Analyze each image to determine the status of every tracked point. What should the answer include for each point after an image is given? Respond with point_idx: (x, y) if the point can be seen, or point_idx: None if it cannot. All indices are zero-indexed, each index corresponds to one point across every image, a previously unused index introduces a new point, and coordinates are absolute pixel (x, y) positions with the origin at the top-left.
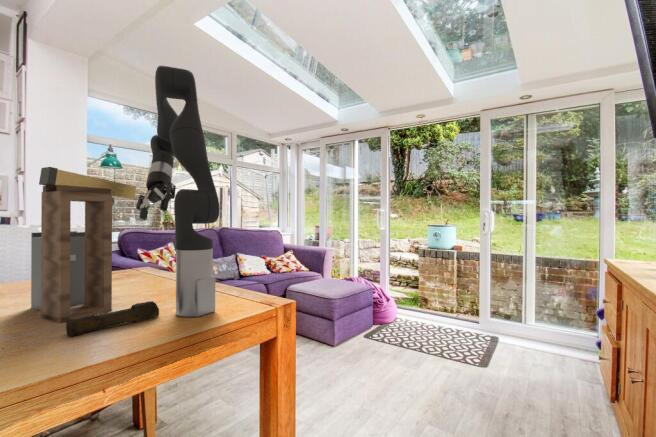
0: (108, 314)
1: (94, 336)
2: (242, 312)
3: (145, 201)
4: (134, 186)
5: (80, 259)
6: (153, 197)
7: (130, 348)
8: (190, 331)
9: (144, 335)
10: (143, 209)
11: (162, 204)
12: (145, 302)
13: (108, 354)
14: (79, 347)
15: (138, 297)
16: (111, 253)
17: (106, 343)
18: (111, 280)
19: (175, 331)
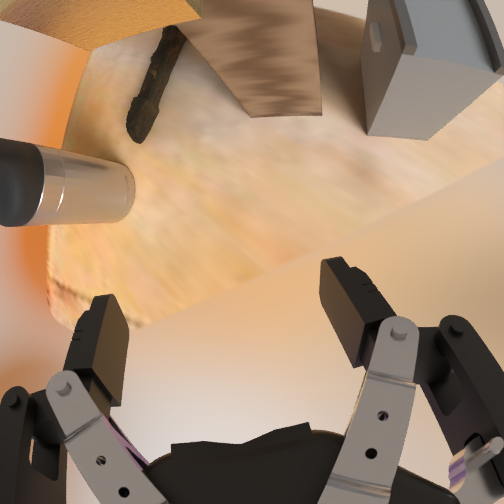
0: (150, 65)
1: (151, 55)
2: (63, 231)
3: (363, 386)
4: (2, 2)
5: (382, 66)
6: (243, 452)
7: (91, 71)
8: (71, 135)
9: (103, 94)
10: (358, 322)
11: (88, 325)
12: (135, 118)
13: (98, 54)
14: (136, 38)
15: (311, 218)
16: (206, 60)
17: (120, 58)
18: (232, 92)
19: (83, 124)
